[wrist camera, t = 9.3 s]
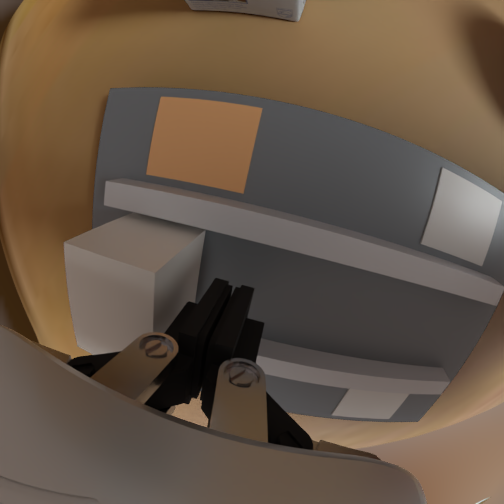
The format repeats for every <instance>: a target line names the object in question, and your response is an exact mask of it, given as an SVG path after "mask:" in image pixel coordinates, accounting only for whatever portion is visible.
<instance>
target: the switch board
mask: <svg viewBox="0 0 504 504" xmlns="http://www.w3.org/2000/svg"><path fill="white" fill-rule="evenodd" d="M133 212H134V213H139V214H143V215H147V216H151V217H156V218H160V219H164V220H168V221H172V222H176V223H180V224H185V225H189V226H193V227H197V228H201V229H205V230H206V232H205V238H204V244H203V250H202V257H201V263H200V270H199V277H198V284H197V291H196V299H195V303H197V304H198V303H199V301H200V300H201V298H202V297H203V295H204V294H205V292H206V291H207V289H208V288H209V287H210V285H211V284H212V282H213V281H214V279H215V278H219V279H223V280H226V281H229V285H232V286H233V288H232V293H233V291H234V289H235V287H239V288H240V287H241V285H245V286H249V287H252V288H254V293H253V297H252V301H251V305H250V309H249V313H248V317H247V318H249V319H253V320H257V321H260V322H264V328H263V333H262V337H261V342H260V346H259V350H258V355H257V359H256V364H257V365H259V366H260V367H261V368H262V370H263V371H264V373H265V377H266V392H267V393H268V394H269V395H270V396H271V397H272V398H273V399H274V400H275V401H276V402H277V403H278V404H279V405H280V406H281V408H282V409H283V410H284V411H285V412H289V413H295V414H301V415H308V416H315V417H323V418H332V419H343V420H355V421H374V422H418V421H419V420H420V419H421V418H422V417H423V416H424V414H425V413H426V412H427V411H428V410H429V409H430V408H431V406H432V405H433V404H434V403H435V402H436V400H437V399H438V398H439V397H440V396H441V394H442V393H443V392H444V390H445V389H446V388H447V387H448V385H449V384H450V383H451V381H452V380H453V378H454V377H455V376H456V374H457V373H458V372H459V370H460V369H461V367H462V366H463V364H464V363H465V361H466V360H467V358H468V357H469V355H470V354H471V352H472V350H473V349H474V347H475V346H476V344H477V342H478V341H479V339H480V337H481V335H482V334H483V332H484V330H485V328H486V327H487V325H488V323H489V321H490V319H491V317H492V315H493V313H494V311H495V309H496V307H497V305H498V303H499V301H500V299H501V297H502V295H503V292H504V193H503V192H501V191H500V190H498V189H497V188H495V187H493V186H492V185H490V184H489V183H487V182H486V181H484V180H482V179H481V178H479V177H477V176H476V175H474V174H472V173H471V172H469V171H467V170H465V169H463V168H462V167H460V166H458V165H456V164H454V163H452V162H450V161H449V160H447V159H445V158H443V157H441V156H439V155H437V154H435V153H433V152H430V151H428V150H426V149H424V148H422V147H420V146H417V145H415V144H413V143H411V142H408V141H406V140H404V139H401V138H399V137H396V136H394V135H391V134H389V133H386V132H383V131H381V130H378V129H375V128H373V127H370V126H367V125H364V124H361V123H358V122H355V121H352V120H349V119H346V118H343V117H339V116H336V115H333V114H329V113H326V112H322V111H318V110H314V109H311V108H307V107H302V106H298V105H294V104H289V103H285V102H280V101H275V100H270V99H265V98H259V97H253V96H247V95H240V94H233V93H226V92H217V91H208V90H196V89H182V88H153V87H138V88H110V92H109V96H108V100H107V105H106V109H105V114H104V119H103V125H102V130H101V136H100V143H99V149H98V157H97V165H96V174H95V185H94V198H93V219H92V229H94V228H97V227H99V226H101V225H104V224H106V223H108V222H111V221H113V220H116V219H118V218H121V217H123V216H126V215H128V214H131V213H133ZM232 293H231V295H232ZM201 389H202V388H201ZM200 391H201V390H200Z"/></svg>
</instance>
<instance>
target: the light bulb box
mask: <svg viewBox="0 0 504 504" xmlns="http://www.w3.org/2000/svg"><path fill="white" fill-rule="evenodd" d="M185 2H186V3H187V4H188V5H189V7H190V8H191V9H192V10H211V11H228V12H239V13H248V14H256V15H263V16H269V17H275V18H281V19H286V20H291V21H299V20H300V17H301V14H302V11H303V8H304V5H305V2H306V0H185Z"/></svg>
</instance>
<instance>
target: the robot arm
mask: <svg viewBox="0 0 504 504" xmlns="http://www.w3.org/2000/svg"><path fill="white" fill-rule="evenodd" d="M232 288H233V286H232V285H229V281H226V280H223V279H219V278H215V279H214V281H213V282H212V284H211V285H210V287H209V288H208V289H207V291H206V292H205V294H204V295H203V297H202V298H201V300H200V301H199V303H198V304H197V303H193V302H190V301H188V302H187V303H186V305H185V306H184V307H183V309H182V310H181V311H180V313H179V314H178V315H177V317H176V318H175V319H174V321H173V322H172V323H171V325H170V326H169V327H168V329H167V330H166V331H165V333H160V332H148V333H145V334H142V335H141V336H139V337H138V338H137V339H135V340H134V341H133V342H132V343H131V344H129V345H128V346H127V347H126V348H125V349H123V350H122V351H119V352H112V353H105V354H97V355H89V356H81V357H77V358H74V359H71V356H70V355H67V354H65V353H62V352H59V351H56V350H54V349H51V348H48V347H46V346H43V345H41V344H38V343H35V342H33V341H30V340H29V339H27V338H25V337H24V336H22V335H20V334H19V333H17V332H15V331H13V330H11V329H9V328H7V327H5V326H2V325H0V504H427V502H426V498H425V495H424V492H423V490H422V487H421V485H420V483H419V481H418V480H417V479H416V477H415V476H414V475H413V474H411V473H410V472H409V471H407V470H405V469H403V468H401V467H399V466H397V465H394V464H391V463H388V462H385V461H382V460H380V459H379V458H378V457H377V456H376V455H374V454H371V453H368V452H364V451H359V450H355V449H351V448H348V447H344V446H340V445H337V444H333V443H330V442H326V441H323V440H320V441H319V442H316V441H313V440H312V439H311V438H310V436H309V435H308V434H307V433H306V432H305V431H304V430H303V429H302V428H301V427H300V426H299V425H298V424H297V423H296V422H295V421H294V420H293V419H292V418H291V417H290V416H289V415H288V414H287V413H286V412H285V411H284V410H283V409H282V408H281V406H280V405H279V404H278V403H277V402H276V401H275V400H274V399H273V398H272V397H271V396H270V395H269V394H268V393H267V392H266V377H265V373H264V371H263V370H262V368H261V367H260V366H259V365H257V364H256V359H257V355H258V350H259V346H260V342H261V337H262V333H263V328H264V322H260V321H257V320H253V319H249V318H247V317H248V313H249V309H250V305H251V301H252V297H253V293H254V288H252V287H249V286H245V285H241V287H240V288H239V287H235V289H234V291H233V293H232ZM231 293H232V295H231ZM201 388H202V389H201ZM200 390H201V396H200V400H202V406H201V409H202V410H203V412H204V413H205V415H206V416H207V418H208V419H209V420H208V425H207V427H204V426H201V425H197V424H194V423H191V422H188V421H185V420H183V419H180V418H177V417H174V416H172V415H171V414H172V413H173V412H174V410H175V405H179V404H182V403H186V404H189V403H190V401H191V398H192V397H193V398H196V399H197V397H198V395H199V393H200Z"/></svg>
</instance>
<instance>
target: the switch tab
mask: <svg viewBox="0 0 504 504" xmlns="http://www.w3.org/2000/svg"><path fill="white" fill-rule="evenodd" d="M205 232H206V230H205V229H201V228H197V227H193V226H189V225H185V224H180V223H176V222H172V221H168V220H164V219H160V218H156V217H151V216H147V215H143V214H139V213H134V212H133V213H131V214H128V215H126V216H123V217H121V218H118V219H116V220H113V221H111V222H108V223H106V224H104V225H101V226H99V227H97V228H94V229H92V230H90V231H87V232H85V233H83V234H80V235H78V236H76V237H74V238H72V239H69V240H67V241H65V242H64V256H65V269H66V279H67V288H68V296H69V303H70V309H71V315H72V321H73V327H74V332H75V337H76V341H77V346H78V347H80V348H82V349H84V350H85V351H87V352H89V353H91V354H93V355H97V354H105V353H112V352H119V351H122V350H123V349H125V348H126V347H127V346H128V345H129V344H131V343H132V342H133V341H134V340H135V339H137V338H138V337H139V336H141V335H142V334H145V333H148V332H160V333H165V331H166V330H167V329H168V327H169V326H170V325H171V323H172V322H173V321H174V319H175V318H176V317H177V315H178V314H179V313H180V311H181V310H182V309H183V307H184V306H185V305H186V303H187V302H188V301H190V302H193V303H195V299H196V291H197V284H198V277H199V270H200V263H201V257H202V250H203V244H204V238H205Z"/></svg>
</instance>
